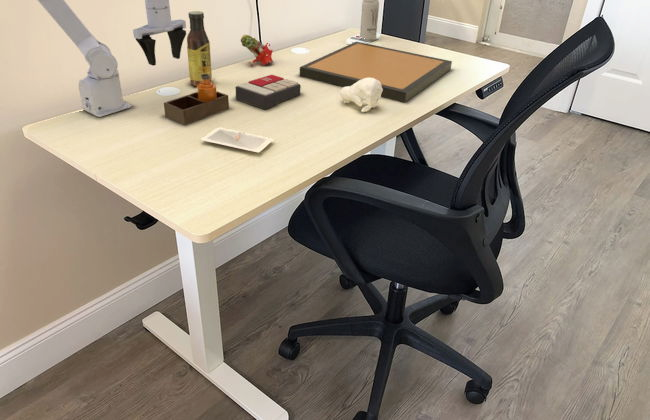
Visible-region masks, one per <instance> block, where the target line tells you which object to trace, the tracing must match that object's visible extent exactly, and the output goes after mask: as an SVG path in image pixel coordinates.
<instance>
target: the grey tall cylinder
mask: <svg viewBox="0 0 650 420" xmlns="http://www.w3.org/2000/svg"><path fill="white" fill-rule="evenodd" d="M361 3H362V4H361V16H360V17H361V18H360V31H359V38H360V40H361V41H363V42H374V41H375V39H376V38H377V34H378V33H377V31H378V20H379V8H380V1H379V0H362V2H361ZM361 37H362V38H361ZM364 38H365V39H364Z"/></svg>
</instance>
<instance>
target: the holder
mask: <svg viewBox="0 0 650 420" xmlns="http://www.w3.org/2000/svg"><path fill="white" fill-rule="evenodd" d="M216 91H217V90H216ZM229 101H230V100H229V95H228V94H226V93H223V92H220V91H217V98H216V99H213V100H211V101H208V102H204V101H202V100H199V99H198V92H197V91H195V92H192V93H189V94H187V95H183V96H180V97H178V98H173V99H170V100H168V101H165V102H163V110H164V117H165V118H168V119H170V120H172V121H173V122H176V123H178V124H181V125H183V126H187V125H189V124H192V123H195V122H197V121H200V120H203V119H206V118H208V117H210V116H213V115H216V114H219V113H221V112H224V111H227V110H229V109H230V102H229Z"/></svg>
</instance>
